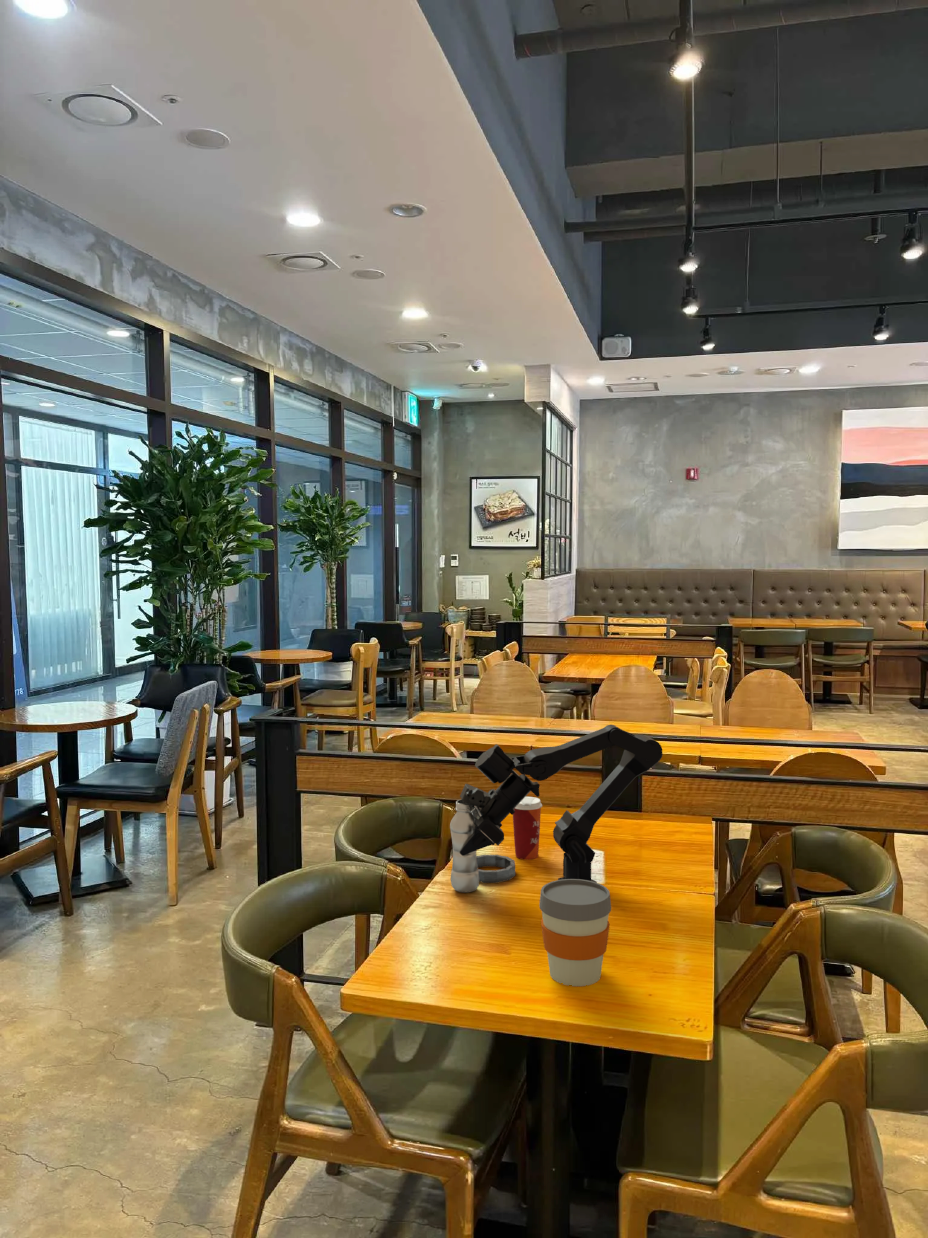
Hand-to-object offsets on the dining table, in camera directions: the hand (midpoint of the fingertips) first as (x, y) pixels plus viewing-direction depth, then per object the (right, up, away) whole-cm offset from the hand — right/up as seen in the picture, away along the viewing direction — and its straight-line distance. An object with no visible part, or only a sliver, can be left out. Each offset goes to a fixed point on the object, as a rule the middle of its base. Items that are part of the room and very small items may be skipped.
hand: (458, 848), depth 194 cm
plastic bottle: (+1, -10, +1) cm, 10 cm away
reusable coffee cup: (+21, -12, -39) cm, 46 cm away
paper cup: (+17, -8, +23) cm, 29 cm away
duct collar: (+7, -9, +11) cm, 16 cm away
